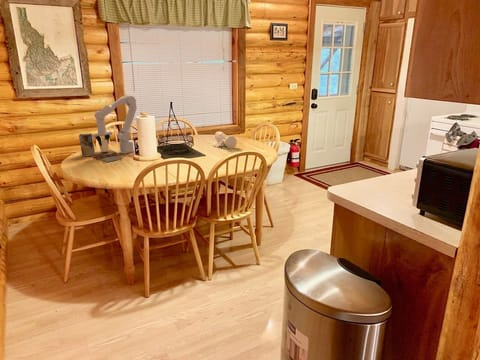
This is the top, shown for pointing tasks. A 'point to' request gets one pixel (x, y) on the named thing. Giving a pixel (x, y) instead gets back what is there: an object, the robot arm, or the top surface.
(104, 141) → the cream block
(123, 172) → the top surface
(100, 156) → the walnut square frame
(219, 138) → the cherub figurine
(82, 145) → the coffee box
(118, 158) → the slate mat
